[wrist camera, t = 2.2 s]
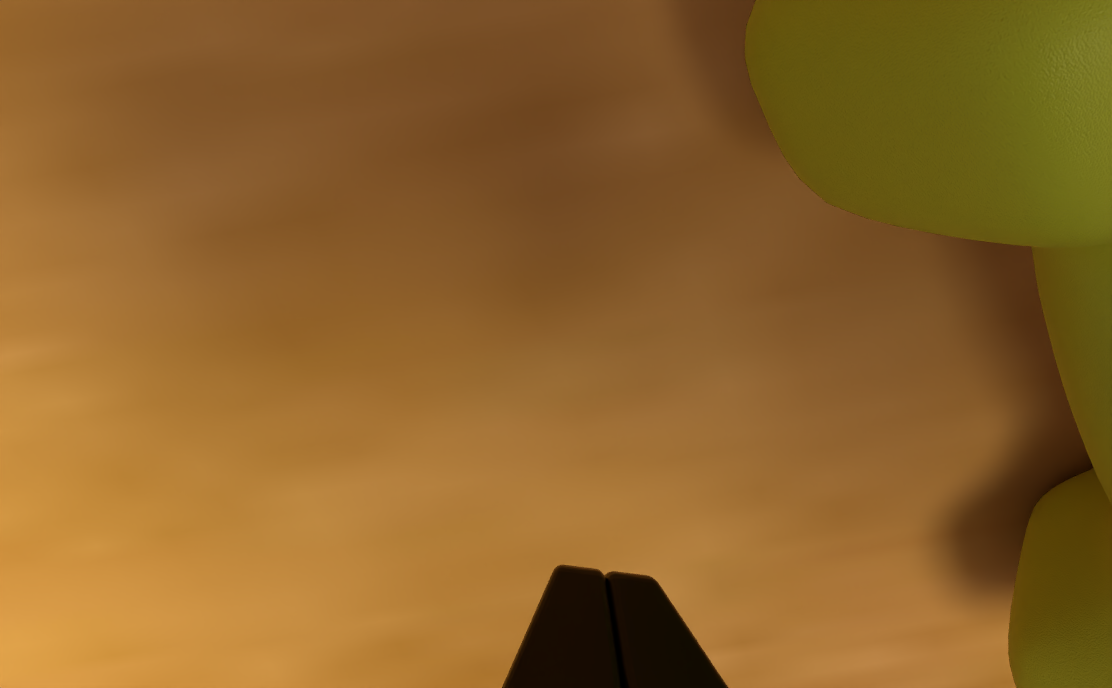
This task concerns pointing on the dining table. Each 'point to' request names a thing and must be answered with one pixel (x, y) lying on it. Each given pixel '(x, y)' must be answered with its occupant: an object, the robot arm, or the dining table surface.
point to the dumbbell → (981, 220)
